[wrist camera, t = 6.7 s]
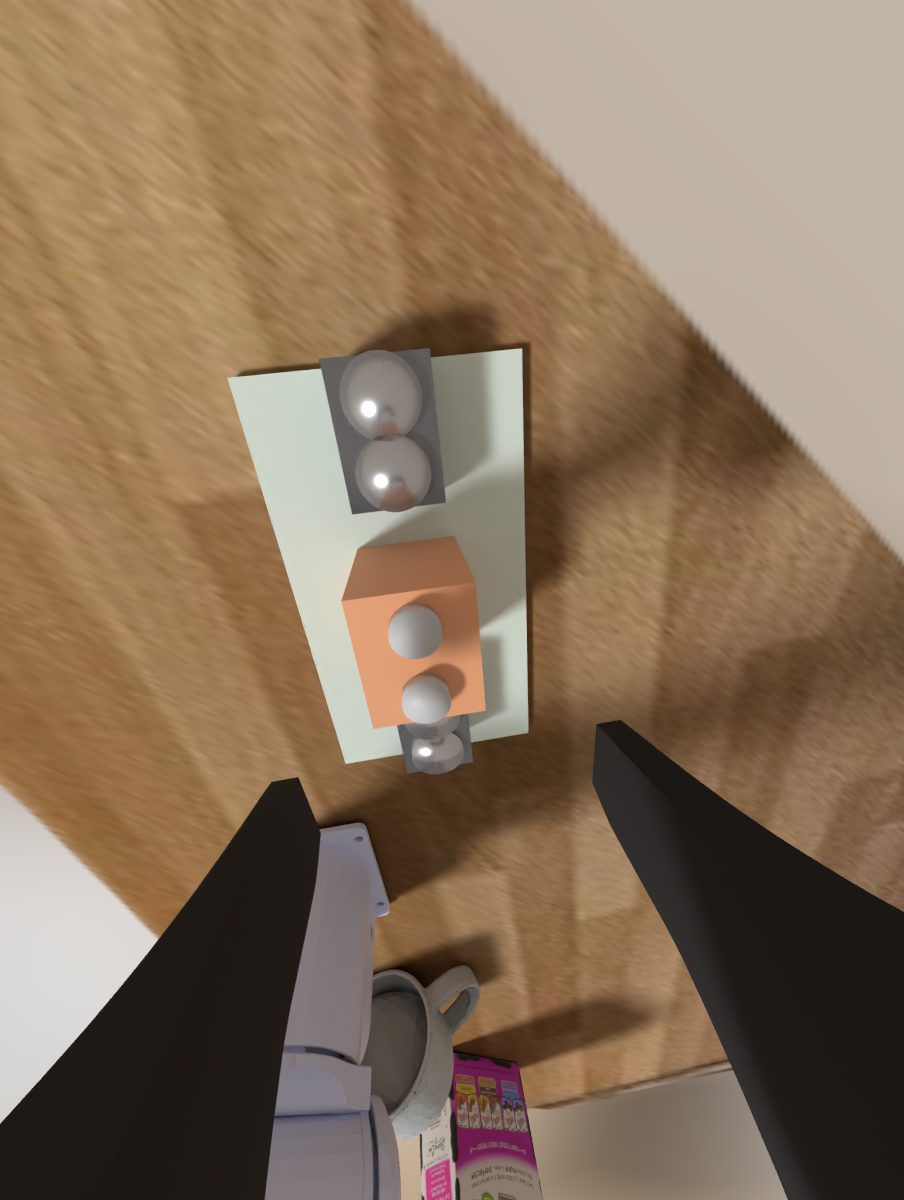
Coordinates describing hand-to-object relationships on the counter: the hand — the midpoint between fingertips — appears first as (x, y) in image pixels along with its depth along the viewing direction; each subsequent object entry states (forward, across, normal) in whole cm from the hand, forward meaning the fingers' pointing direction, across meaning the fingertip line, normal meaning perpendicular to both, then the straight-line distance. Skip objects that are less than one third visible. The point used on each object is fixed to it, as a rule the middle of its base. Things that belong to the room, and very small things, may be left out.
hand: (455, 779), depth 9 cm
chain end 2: (+9, +1, +5) cm, 10 cm away
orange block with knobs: (+9, 0, -1) cm, 9 cm away
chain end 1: (+9, 0, -8) cm, 12 cm away
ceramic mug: (+10, +6, +35) cm, 37 cm away
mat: (+9, 0, -1) cm, 9 cm away
